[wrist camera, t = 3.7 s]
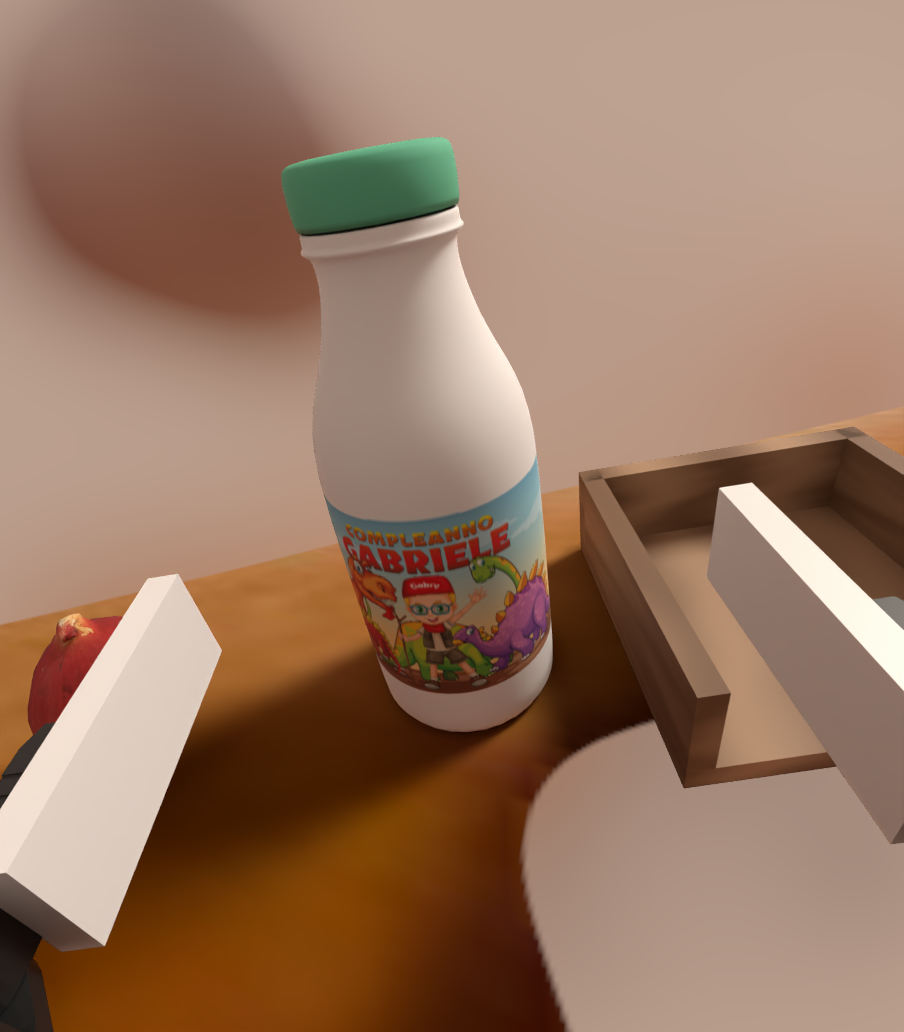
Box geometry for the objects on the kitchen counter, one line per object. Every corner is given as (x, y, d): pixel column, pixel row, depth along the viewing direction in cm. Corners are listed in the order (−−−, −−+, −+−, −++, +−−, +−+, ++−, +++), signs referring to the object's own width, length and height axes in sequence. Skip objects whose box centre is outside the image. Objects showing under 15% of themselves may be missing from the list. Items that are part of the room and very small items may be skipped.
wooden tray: (684, 788, 19) (697, 698, 16) (575, 536, 32) (572, 461, 29) (1095, 729, 18) (1181, 625, 16) (817, 497, 31) (838, 417, 28)
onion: (58, 797, 23) (-73, 671, 18) (155, 685, 27) (68, 561, 23) (167, 827, 21) (50, 694, 16) (252, 701, 25) (177, 570, 21)
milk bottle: (383, 624, 28) (241, 175, 17) (528, 591, 28) (479, 130, 17) (393, 758, 22) (174, 178, 11) (579, 714, 22) (554, 108, 11)
